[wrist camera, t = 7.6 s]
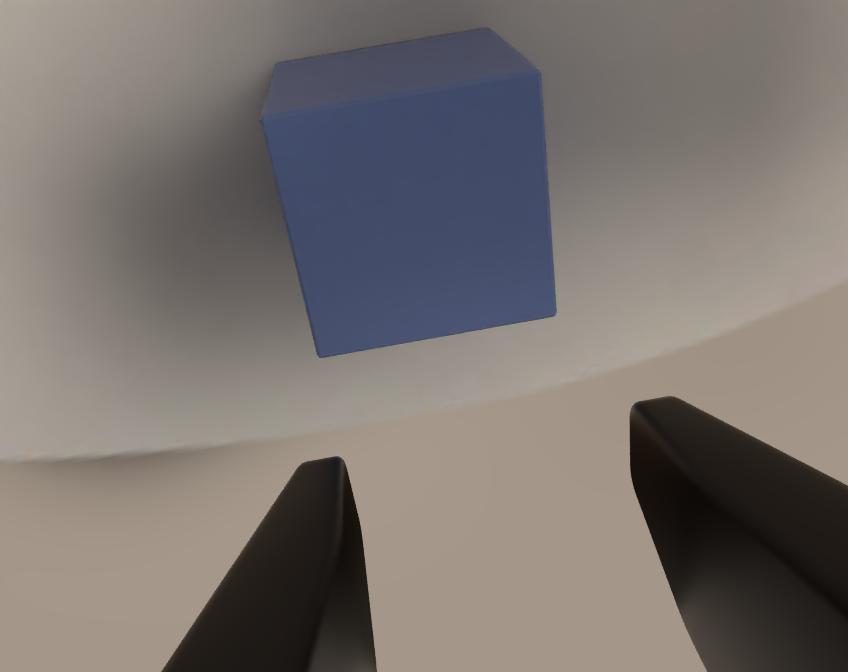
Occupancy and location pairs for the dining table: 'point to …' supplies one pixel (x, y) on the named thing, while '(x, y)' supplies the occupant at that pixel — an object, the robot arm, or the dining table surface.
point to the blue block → (413, 189)
